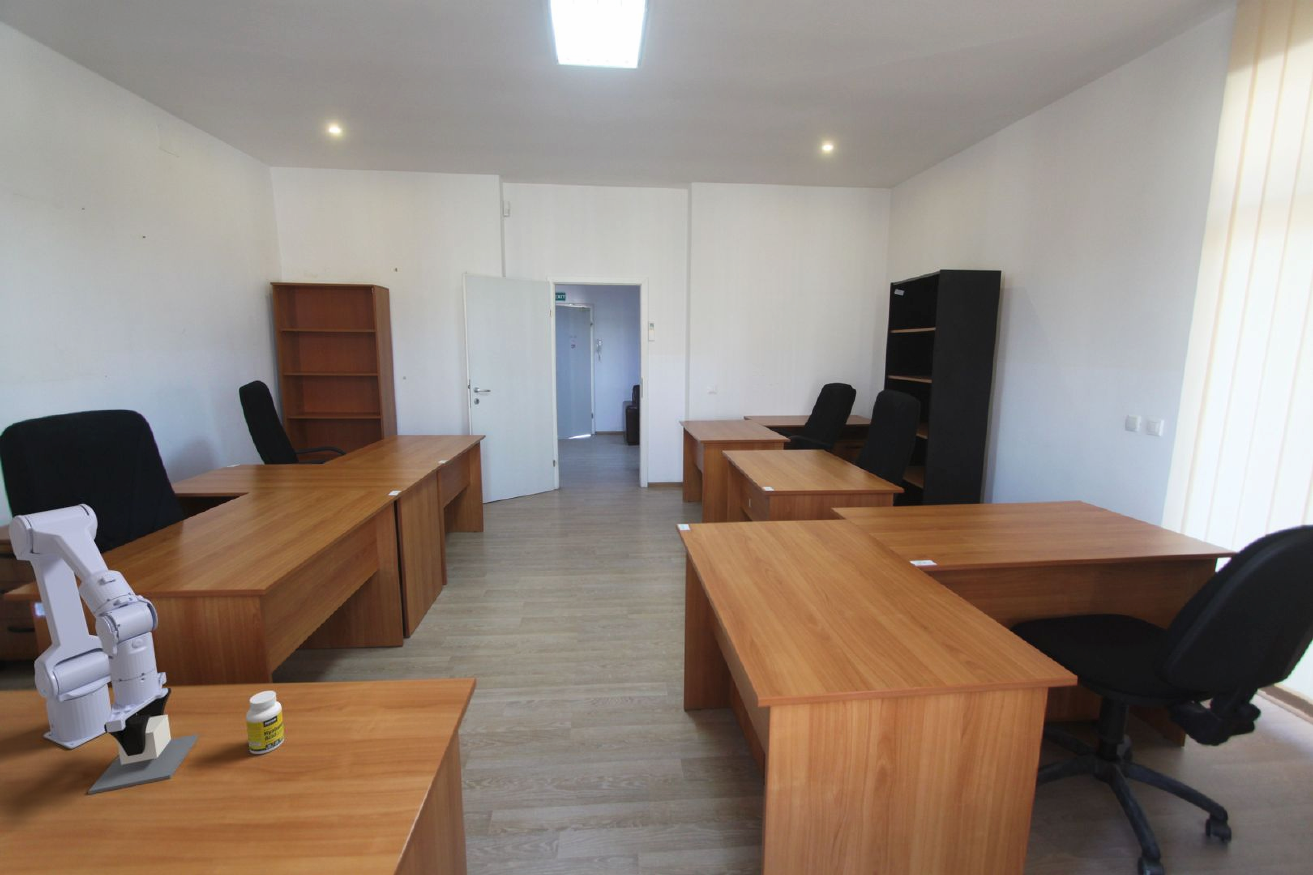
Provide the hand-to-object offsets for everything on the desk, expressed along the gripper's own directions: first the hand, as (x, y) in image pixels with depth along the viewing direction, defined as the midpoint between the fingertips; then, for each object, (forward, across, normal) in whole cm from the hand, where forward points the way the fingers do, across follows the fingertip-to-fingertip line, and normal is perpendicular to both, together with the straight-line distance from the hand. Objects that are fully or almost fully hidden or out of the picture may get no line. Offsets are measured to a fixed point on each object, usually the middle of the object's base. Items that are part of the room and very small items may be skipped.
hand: (144, 743), depth 98 cm
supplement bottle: (+4, -1, -18) cm, 19 cm away
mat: (+4, 0, 0) cm, 4 cm away
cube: (+2, 0, 0) cm, 2 cm away
